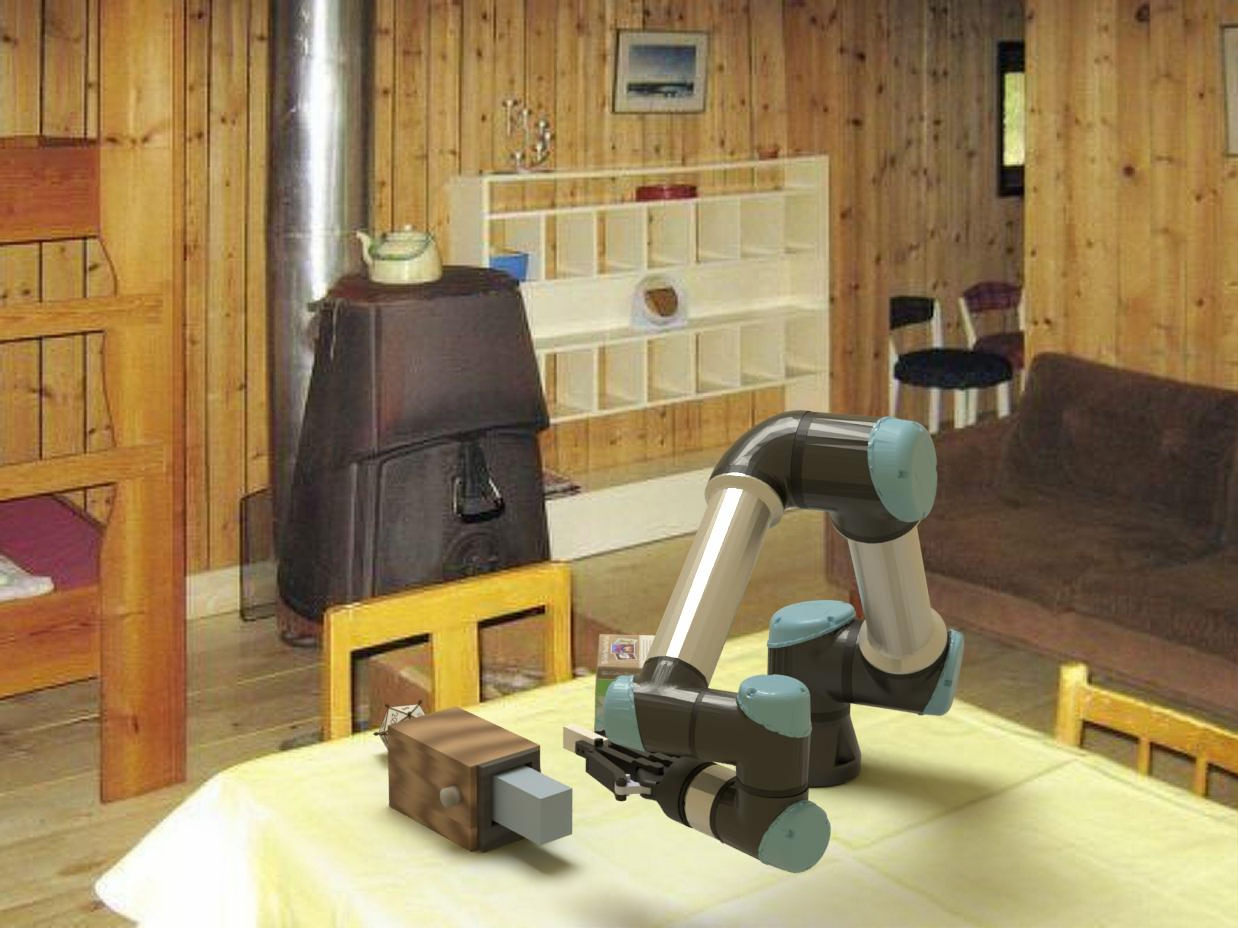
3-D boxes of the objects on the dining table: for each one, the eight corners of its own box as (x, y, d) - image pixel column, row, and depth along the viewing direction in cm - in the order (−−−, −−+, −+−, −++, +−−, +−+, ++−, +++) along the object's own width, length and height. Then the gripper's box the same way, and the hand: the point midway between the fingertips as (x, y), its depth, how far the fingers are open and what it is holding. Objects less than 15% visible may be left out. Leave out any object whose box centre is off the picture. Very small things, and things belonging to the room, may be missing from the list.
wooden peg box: (555, 826, 227) (556, 744, 224) (466, 858, 218) (465, 772, 215) (466, 781, 241) (465, 703, 238) (378, 808, 232) (377, 728, 229)
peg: (572, 833, 217) (572, 788, 215) (540, 845, 213) (540, 798, 212) (497, 795, 228) (497, 751, 226) (466, 805, 224) (465, 761, 223)
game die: (415, 786, 248) (423, 748, 241) (360, 761, 249) (367, 722, 242) (442, 738, 254) (451, 699, 247) (389, 713, 255) (396, 674, 248)
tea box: (665, 767, 246) (667, 666, 243) (593, 766, 247) (593, 665, 243) (664, 728, 261) (665, 632, 258) (595, 726, 261) (596, 631, 258)
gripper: (661, 844, 189) (524, 778, 206) (747, 813, 197) (609, 752, 215) (663, 778, 187) (524, 717, 205) (749, 750, 196) (609, 693, 213)
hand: (568, 735), depth 210 cm, fingers closed
